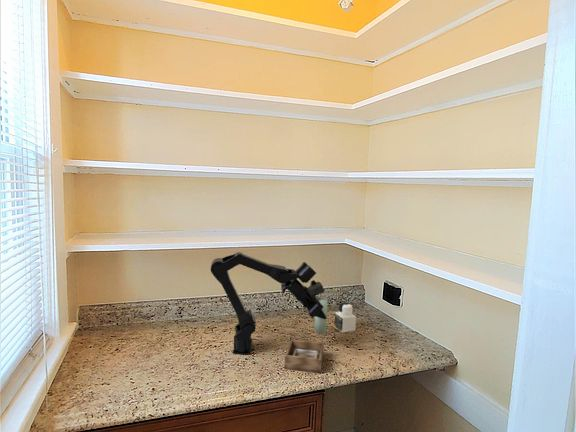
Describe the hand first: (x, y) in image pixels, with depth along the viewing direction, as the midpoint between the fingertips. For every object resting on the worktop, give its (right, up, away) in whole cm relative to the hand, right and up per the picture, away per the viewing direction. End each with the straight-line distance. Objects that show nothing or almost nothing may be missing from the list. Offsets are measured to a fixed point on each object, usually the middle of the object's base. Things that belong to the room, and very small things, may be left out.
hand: (324, 315), depth 144 cm
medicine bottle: (+11, -11, +18) cm, 24 cm away
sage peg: (-1, -7, 0) cm, 7 cm away
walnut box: (-9, -14, -12) cm, 21 cm away
